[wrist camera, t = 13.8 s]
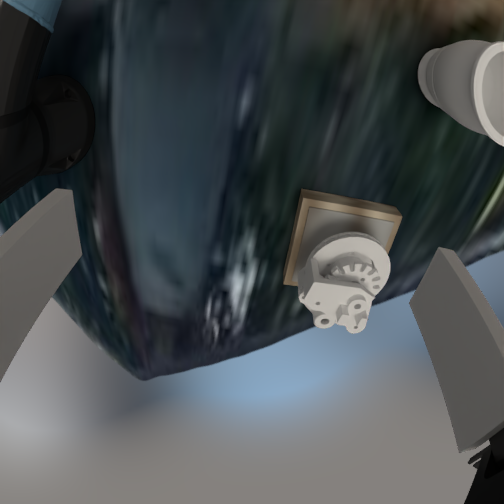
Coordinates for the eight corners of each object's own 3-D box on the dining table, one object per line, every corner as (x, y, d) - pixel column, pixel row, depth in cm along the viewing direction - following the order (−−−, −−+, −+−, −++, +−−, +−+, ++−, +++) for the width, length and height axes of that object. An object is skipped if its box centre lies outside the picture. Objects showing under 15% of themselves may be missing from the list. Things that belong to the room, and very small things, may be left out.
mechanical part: (394, 246, 41) (422, 303, 31) (336, 297, 47) (347, 358, 37) (340, 198, 38) (361, 251, 28) (280, 259, 43) (279, 322, 34)
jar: (455, 129, 33) (521, 167, 21) (397, 90, 32) (457, 109, 19) (482, 70, 28) (555, 87, 15) (426, 26, 26) (494, 19, 14)
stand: (283, 271, 49) (283, 285, 46) (301, 188, 41) (303, 198, 38) (366, 282, 49) (370, 296, 46) (395, 206, 41) (403, 217, 38)
